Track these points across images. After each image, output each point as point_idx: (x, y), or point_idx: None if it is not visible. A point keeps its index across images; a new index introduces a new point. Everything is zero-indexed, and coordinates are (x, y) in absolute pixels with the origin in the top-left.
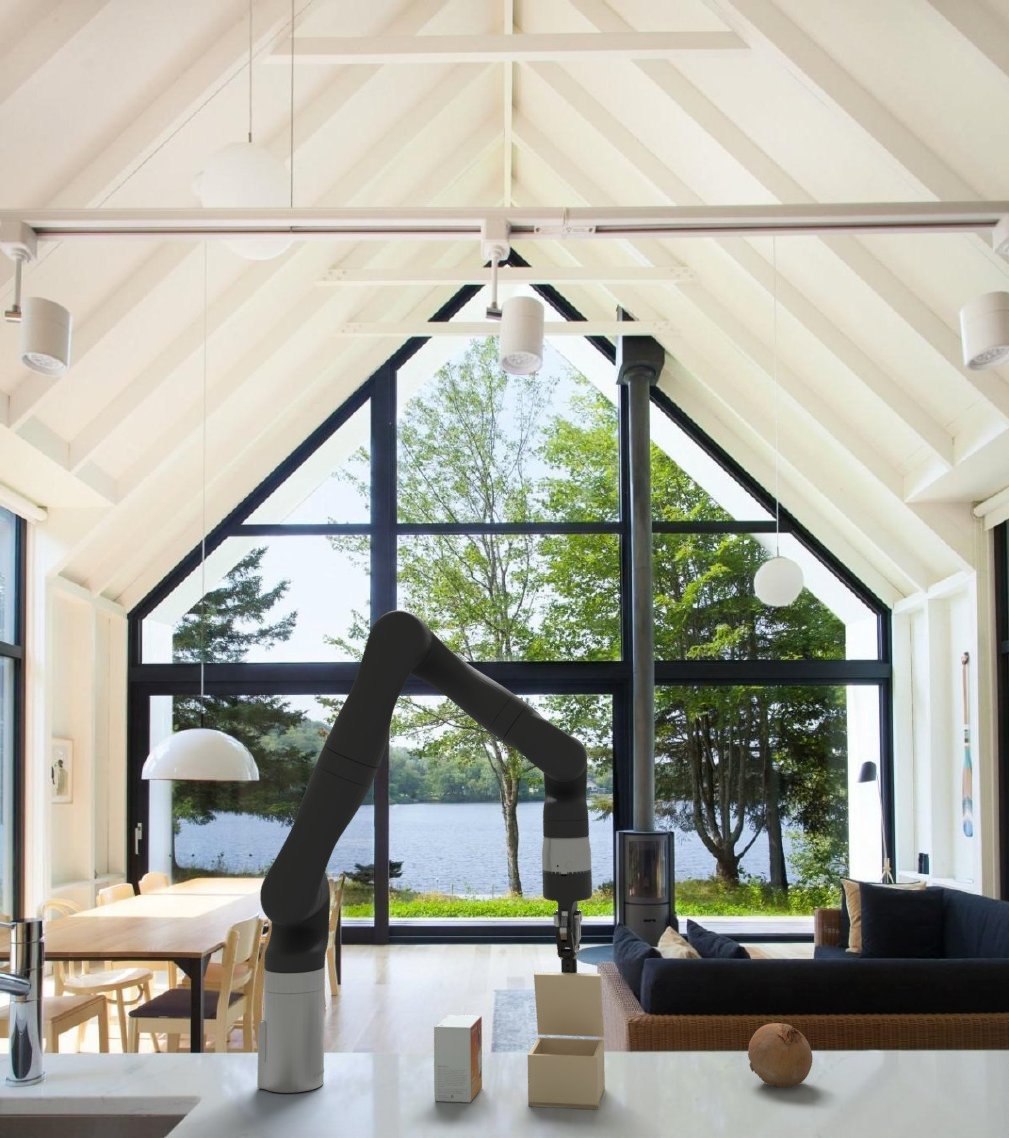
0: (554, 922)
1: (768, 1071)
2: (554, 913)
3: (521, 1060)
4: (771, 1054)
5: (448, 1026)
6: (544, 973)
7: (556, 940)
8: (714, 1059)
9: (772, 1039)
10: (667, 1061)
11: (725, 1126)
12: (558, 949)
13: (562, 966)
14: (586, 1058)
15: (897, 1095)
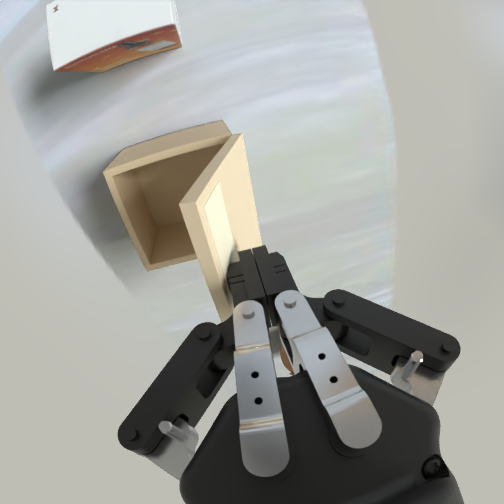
0: (241, 436)
1: (282, 345)
2: (259, 476)
3: (347, 61)
4: (285, 359)
5: (50, 26)
6: (197, 237)
7: (142, 398)
8: (373, 271)
9: None
10: (366, 236)
11: (170, 331)
12: (173, 360)
13: (246, 286)
14: (140, 257)
15: (289, 374)
